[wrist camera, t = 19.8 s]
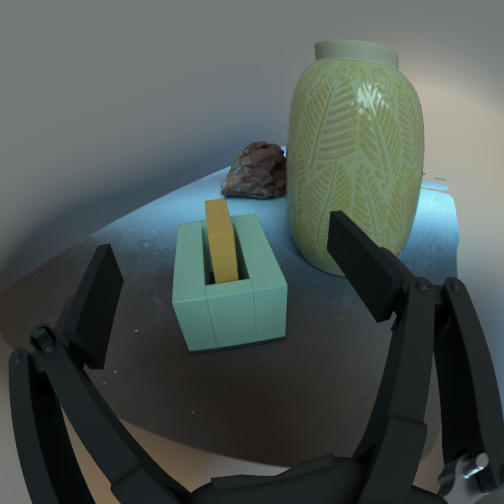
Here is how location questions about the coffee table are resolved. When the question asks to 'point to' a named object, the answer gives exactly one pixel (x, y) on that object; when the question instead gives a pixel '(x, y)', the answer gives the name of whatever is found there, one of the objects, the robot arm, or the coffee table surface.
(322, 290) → the coffee table surface
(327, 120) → the vase
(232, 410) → the coffee table surface
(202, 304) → the toaster
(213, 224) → the toast
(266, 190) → the mineral specimen
